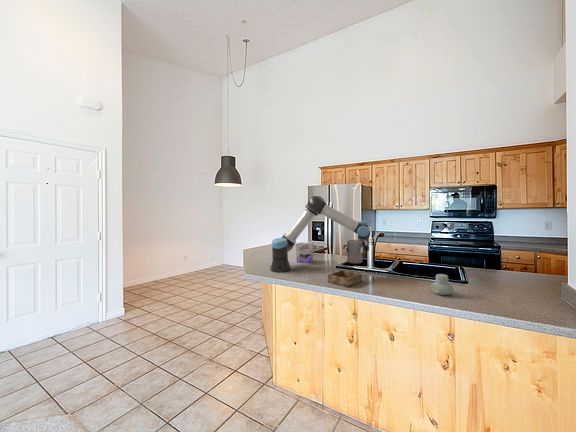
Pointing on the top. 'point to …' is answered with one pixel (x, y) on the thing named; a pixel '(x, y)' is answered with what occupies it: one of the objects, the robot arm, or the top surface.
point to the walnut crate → (345, 278)
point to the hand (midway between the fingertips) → (353, 250)
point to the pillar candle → (354, 251)
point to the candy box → (304, 251)
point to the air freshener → (442, 285)
